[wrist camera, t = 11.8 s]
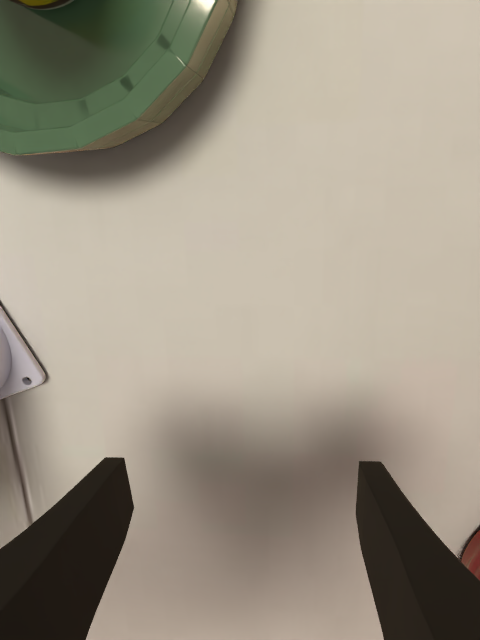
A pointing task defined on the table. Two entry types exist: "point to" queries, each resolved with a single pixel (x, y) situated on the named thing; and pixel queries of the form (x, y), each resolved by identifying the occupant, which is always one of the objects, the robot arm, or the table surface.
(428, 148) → the table surface
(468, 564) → the kitchen canister
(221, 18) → the bowl
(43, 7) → the supplement bottle
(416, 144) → the table surface
